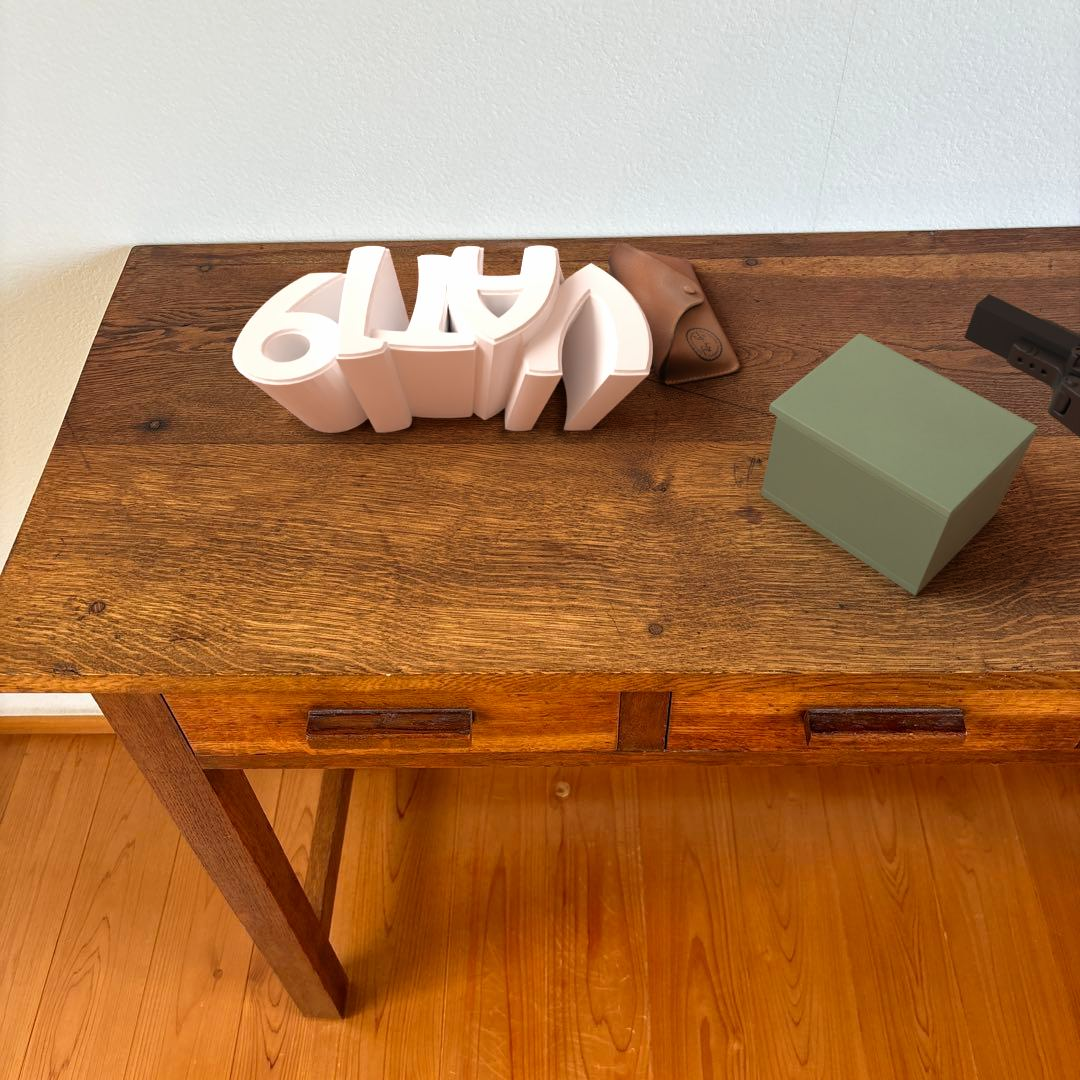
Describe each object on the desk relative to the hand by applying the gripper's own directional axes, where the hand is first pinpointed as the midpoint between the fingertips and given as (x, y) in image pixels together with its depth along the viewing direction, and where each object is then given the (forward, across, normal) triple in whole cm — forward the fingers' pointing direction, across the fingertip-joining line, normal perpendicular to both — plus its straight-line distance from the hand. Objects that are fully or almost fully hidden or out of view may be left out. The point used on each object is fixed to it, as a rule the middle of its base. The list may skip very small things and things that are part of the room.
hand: (976, 316), depth 66 cm
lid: (+3, 0, -11) cm, 11 cm away
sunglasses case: (+30, +6, -20) cm, 36 cm away
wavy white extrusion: (+37, -16, -20) cm, 45 cm away
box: (+2, 0, -20) cm, 20 cm away
